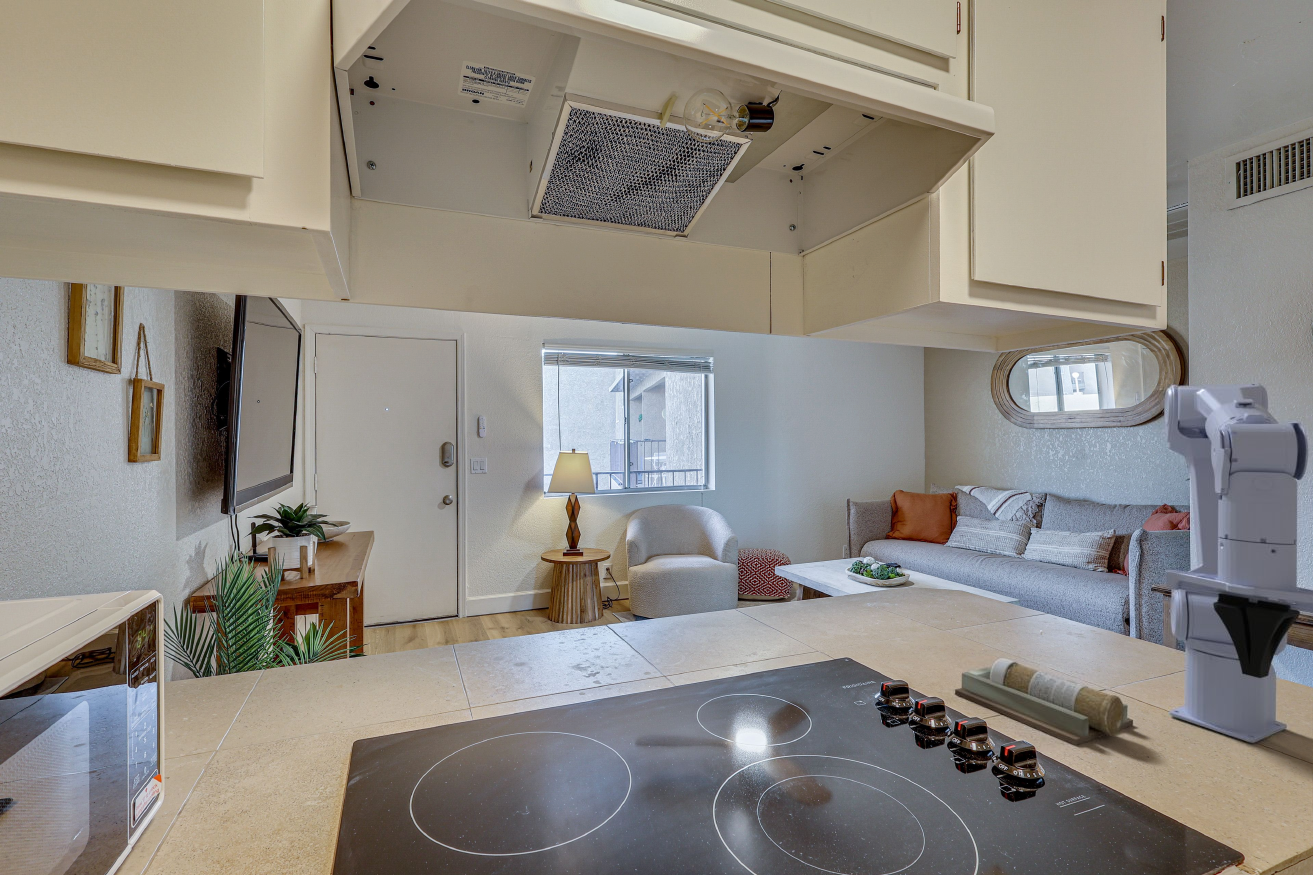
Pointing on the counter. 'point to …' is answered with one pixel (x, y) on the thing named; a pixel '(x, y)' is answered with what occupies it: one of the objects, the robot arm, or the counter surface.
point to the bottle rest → (1029, 708)
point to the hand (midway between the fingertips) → (1255, 674)
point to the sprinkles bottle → (1062, 694)
